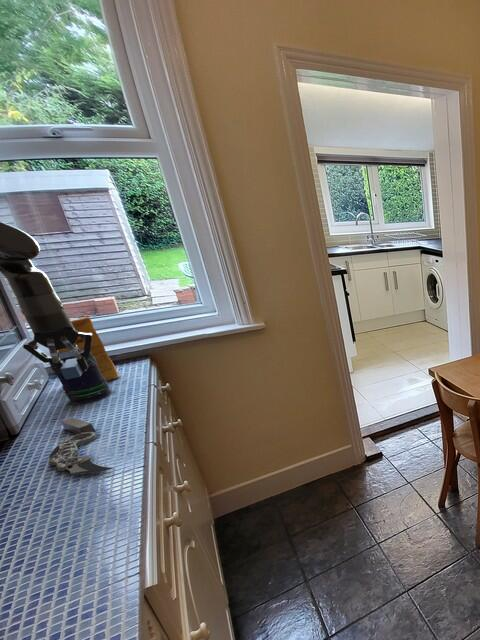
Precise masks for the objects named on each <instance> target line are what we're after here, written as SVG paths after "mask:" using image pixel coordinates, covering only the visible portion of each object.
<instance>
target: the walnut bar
mask: <svg viewBox="0 0 480 640" xmlns="http://www.w3.org/2000/svg"><path fill="white" fill-rule="evenodd" d="M60 423H61V425H62V426H63V428H64V430H65V431H68V432H71V433H74V434H79V433H84V432H94V433H95V432H96V430H95V428H94V426H93V425H92V423H91V422H89V421H84V420H81V419H78V418H75V417H70V418H67V419H64V420H61V421H60Z"/></svg>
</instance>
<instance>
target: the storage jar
mask: <svg viewBox="0 0 480 640" xmlns="http://www.w3.org/2000/svg"><path fill="white" fill-rule="evenodd" d="M79 350H80V351H81V352H82V351H84V348H83V349H79ZM59 354H60V358H61V361H63V362H64V363H65V362H66V360H68V359H74V358H76V357H75V356H74V355H73V353H72V352H70V351H64V352H60V353H59ZM48 356H49V357H51V355H48ZM84 358H85V360H86V362H87V364H88V369H87V370H86V372H83V373H82V375H81V377H76V378H71V379H65V378H64V376H63V374H60V373H59V371H58V369H57V367H56V365H55V364H54V363H51V362H48V363H49V365H50V368H51V370H52V371H53V374H54V375H55V376H56V377H57V378H58V380H59V382H60V383H61V385H62V390H63V392H64V394H65V396H66V397H67V398H68V399H69V402H70V404H72V405H83V404H88V403H93V402H96V401H99V400H101V399H104V398H106V397H109V396H110V395H112V391H111V389H110V387H109V383H108V381H107V382H106V379H105V378H104V377H103V376H102V375H101V373H100V371H99V369H98V363H97V362H96V359H95V357H94V356H93V354H92V353H91V352H90V354H89V355H87V356H85V357H84Z"/></svg>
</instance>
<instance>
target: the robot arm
mask: <svg viewBox="0 0 480 640" xmlns="http://www.w3.org/2000/svg"><path fill="white" fill-rule="evenodd" d="M40 251H41V248H40V245H39V243H38V242H37V240H35V238H33V237H32V236H31V235H29V234H28V233H27V232H25V231H23V230H21V229H19V228H17V227H16V226H12V225H10V224H7V223H5V222H2V221H0V273H1V275H3V277H4V278H5V279H6V281H7V283H8V285H9V287H10V288H11V291H12V293H13V295H14V297H15V299H16V301H17V304H18V307H19V309H20V313H21V314H22V315H23V316H24V318H25V320H26V322H27V324H28V326H29V328H30V331H32V333H33V339H32V340H30V341H28V342H25V343H24V344H23V345H22V348H23V349H24V350H26V351H27V352H28V353H29V354H31V355H32V356H34V357H35V358H37V360H39V361H41V362H42V363H43V364H44V363H45V364H47V363H49V362H51V363H54V364H55V365H56V367H57V369H58V371H59V373H60V374H62V372H61V370H60V369H61V367H62V366H63V364H64V362H63V361H61V358H60V354H59V350H60V349H67V348H68V349H69V351H70V352H72V353H73V355H74V356H75V357H76V358H77V360H76V361H77V363H78V364H79V366H80V368H81V370H82V372H86V370H87V369H88V364H87V362H86V360H85V358H84V357H85V356H87V355H89V354H90V352H91V347H92V339H93V334H92V333H79V332H78V331H77V330H76V329H75V328H74V327H73V325H72V323H71V321H72V320H71V319H70V317H69V314H68V312H67V311H66V308H65V306H64V303H63V302H62V301H61V299H60V297H59V296H58V294H57V292H56V291H55V288H54V287H53V285H52V283H51V281H50V278H49V277H48V275H47V274H46V273H45V272H44V271H42V270H40V269H37V268H36V267H35V266H34V264H33V262H32V261H31V260H33V259H35V258H37V257H38V256H39V254H40ZM78 336H79V337H81V339H82V341H85V345H84V351H82V352H81V351H80V350H79V348H78V346H77V345H76V344H75V343H76V340H77V338H78ZM38 344H39V345H40V346H43V347H45V348H47V349H48V351H49V355H48V354H46V353H45V352H44V351H42V350H41V349H40V348H39V347H40V346H39V345H38ZM49 356H51V357H49Z"/></svg>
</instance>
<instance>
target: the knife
mask: <svg viewBox="0 0 480 640" xmlns="http://www.w3.org/2000/svg"><path fill="white" fill-rule="evenodd" d="M96 438H97V435H96V433H95V432H84V433H79V434H77V433H75V434H73V435H72V436H70V437H68V438H66V439H64V440H62V441H60V442H59V443H57V446H56V447H55V448H53V449H52V451H51V452H50V454H49V455H48V459H47V461H48V463H49V465H53V466H56V469H57V470H58V471H63V472H65V471H69V472H70V473H69V474H70V475H85V474H86V475H87V474H95V473H101V472H105V471H110V470H112V469H114V467H113V466H112V467H110V466H103V465H100V464H97V463H95V462H93V460H92V459H91V457H90V455H88V454H85V455H77V454H78V453H79V451H80V449H79V448H78V446H80V445H83V444H87V443H90V442H92V441H93V440H95V439H96Z"/></svg>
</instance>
